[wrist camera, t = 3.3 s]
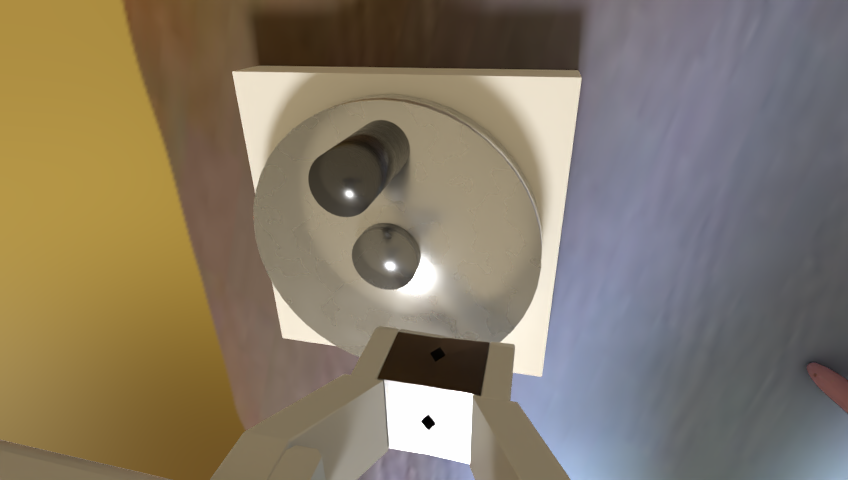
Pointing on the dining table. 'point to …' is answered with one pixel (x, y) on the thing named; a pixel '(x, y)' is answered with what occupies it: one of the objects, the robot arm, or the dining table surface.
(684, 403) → the dining table surface
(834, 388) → the pink curved piece
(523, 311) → the handwheel
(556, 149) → the wheel base
